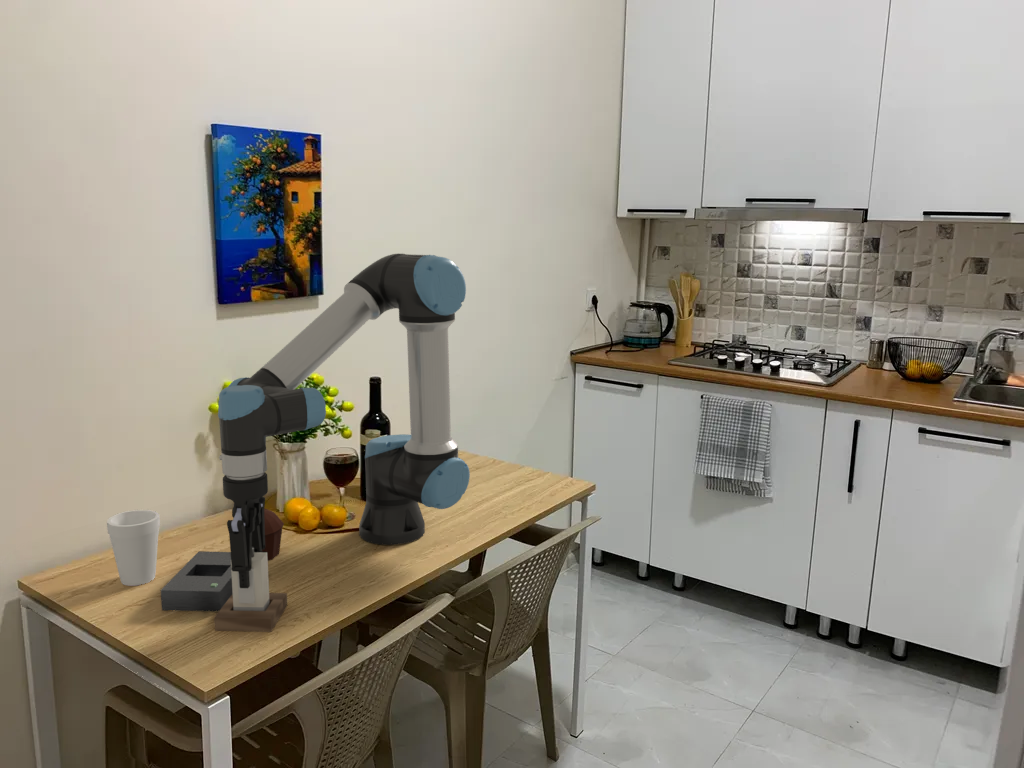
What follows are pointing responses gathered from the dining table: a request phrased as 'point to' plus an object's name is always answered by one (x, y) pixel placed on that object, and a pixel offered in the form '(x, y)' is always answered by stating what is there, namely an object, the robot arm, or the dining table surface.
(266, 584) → the plug
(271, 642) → the dining table surface
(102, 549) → the dining table surface
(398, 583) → the dining table surface
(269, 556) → the muffin
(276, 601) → the brown wooden square frame
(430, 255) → the robot arm
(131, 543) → the foam cup
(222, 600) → the switch box
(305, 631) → the dining table surface
